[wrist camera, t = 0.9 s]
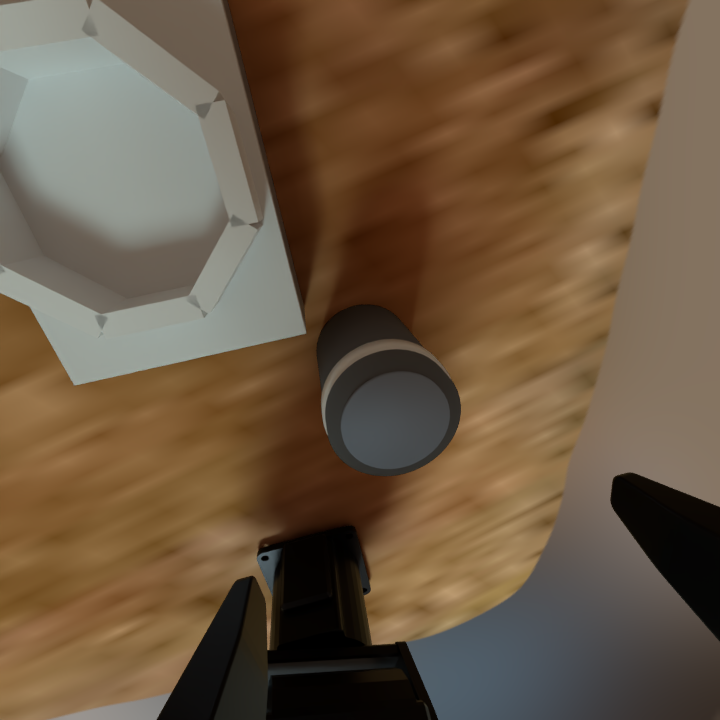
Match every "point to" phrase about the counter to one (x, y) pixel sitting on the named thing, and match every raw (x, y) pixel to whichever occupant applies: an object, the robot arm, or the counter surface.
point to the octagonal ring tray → (137, 186)
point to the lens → (383, 393)
